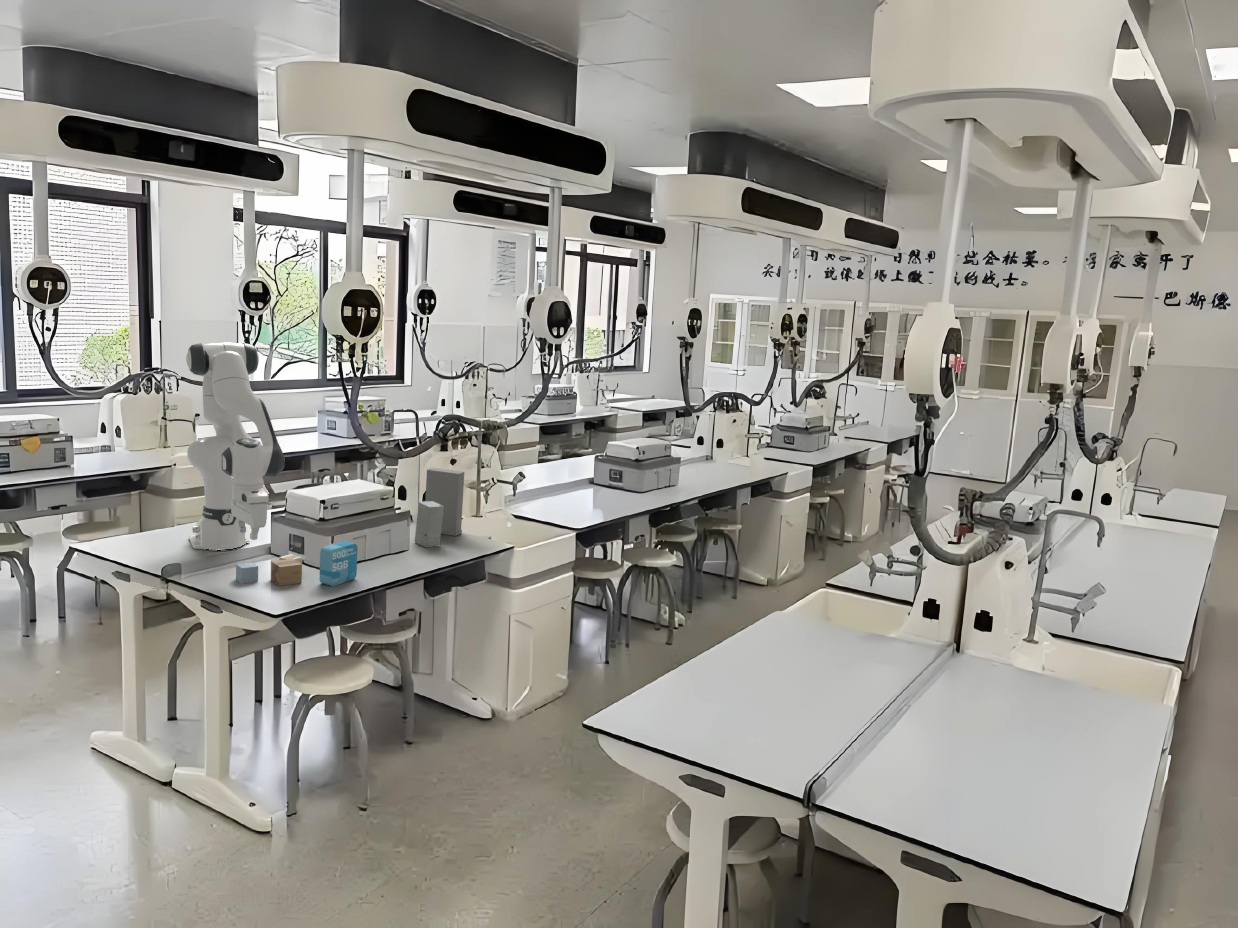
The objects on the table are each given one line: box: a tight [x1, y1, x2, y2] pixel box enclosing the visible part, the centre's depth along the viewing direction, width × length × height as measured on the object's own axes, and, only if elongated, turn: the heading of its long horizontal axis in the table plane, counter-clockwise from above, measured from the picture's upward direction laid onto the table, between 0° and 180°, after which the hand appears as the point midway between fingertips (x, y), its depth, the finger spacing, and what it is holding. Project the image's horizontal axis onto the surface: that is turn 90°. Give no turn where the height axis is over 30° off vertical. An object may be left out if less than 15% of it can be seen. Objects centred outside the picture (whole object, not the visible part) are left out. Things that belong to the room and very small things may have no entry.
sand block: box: [278, 553, 303, 565], centre depth 298 cm, size 5×5×5 cm
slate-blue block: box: [235, 561, 259, 584], centre depth 286 cm, size 5×5×5 cm
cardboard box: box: [270, 559, 303, 587], centre depth 288 cm, size 7×7×6 cm
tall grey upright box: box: [424, 467, 465, 537], centre depth 361 cm, size 14×6×25 cm, turn 77°
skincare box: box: [414, 501, 444, 548], centre depth 343 cm, size 8×7×16 cm
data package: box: [318, 541, 358, 587], centre depth 291 cm, size 12×4×12 cm, turn 153°
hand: (248, 535), depth 283 cm, fingers open, 8 cm apart
